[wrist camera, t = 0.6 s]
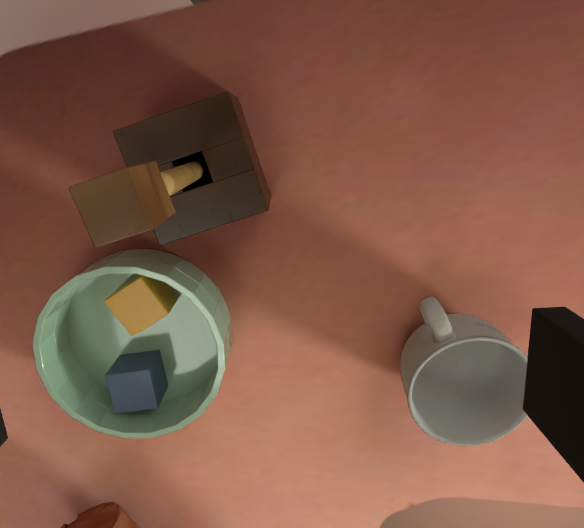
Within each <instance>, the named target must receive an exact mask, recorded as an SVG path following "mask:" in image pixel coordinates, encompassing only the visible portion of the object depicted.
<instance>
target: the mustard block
mask: <svg viewBox="0 0 584 528" xmlns="http://www.w3.org/2000/svg"><path fill="white" fill-rule="evenodd" d="M177 300H178V296H177V295H176V294H175V293H174V291H173V290H172V289H171V287H170V286H169V285H168V284H167V283H165V282H163V281H159V280H156V279H153V278H149V277H146V276H143V275H139V274H137V275H136V276H134V277H133V278H131V279H130V280H128V281H127V282H125V283H124V284H122V285H121V286H119V287H118V288H117V289H116V290H115V291H114V292H113V293H112V294H111V295H110V296H109V297H108V298H106V299H105V300H104V303H105V304H106V305H107V306H108V307H109V309H110V310H111V311H112V312H113V314H114V315H115V316H116V317H117V319H118V320H119V321H120V322H121V323H122V325H123V326H124V327H125V328H126V330H127V331H128V332H129V333H130V335H131V336H132V337H133V336H135V335H137V334H138V333H140V332H141V331H143V330H144V329H146V328H148V327H149V326H151V325H152V324H154V323H156V322H157V321H159V320H160V319H162V318H163V317H165V316H167V315H168V314H169V313H170V311H171V310H172V308H173V306H174V305H175V303H176V302H177Z"/></svg>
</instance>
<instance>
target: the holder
mask: <svg viewBox="0 0 584 528" xmlns="http://www.w3.org/2000/svg"><path fill="white" fill-rule="evenodd" d="M113 134H114V137H115V139H116V142H117V144H118V146H119V149H120V151H121V154H122V156H123V159H124V161H125V163H126V166H127V167H130V166H134V165H138V164H143V163H147V162H151V161H156V163H157V165H158V168H159V171H160V172H163V171H166V170H169V169H172V168H175V167H178V166H181V165H184V164H187V163H190V162H192V161H191V158H190V156H192V155H195V154H198V153H201V152H202V153H203V155H204V158H205V161H206V164H207V166H208V169H209V172H210V175H211V177H212V178H211V179H208V180H205V181H202V182H199V180H197V181H195V182H193V183H191V184H190V185H188V186H186V187H184V188H183V189H181V190H179V191H178V192H176V193H174V194H172V195H171V196H170V198H171V201H172V203H173V206H174V208H175V211H176V212H175V213H174V214H173V215H172V216H170V217H169V218H168V219H166V220H165V221H164V222H162V223H161V224H160V225H158V226H157V227H156V228H154V229H153V231H154V233H155V235H156V238H157V240H158V243H159V245H162V244H166V243H169V242H172V241H175V240H178V239H181V238H184V237H187V236H190V235H193V234H196V233H200V232H203V231H206V230H209V229H212V228H215V227H218V226H221V225H224V224H227V223H230V222H234V221H237V220H240V219H243V218H246V217H249V216H252V215H255V214H258V213H261V212H264V211H267V210H269V205H270V200H271V195H270V192H269V189H268V186H267V183H266V180H265V177H264V174H263V171H262V168H261V165H260V163H259V159H258V156H257V153H256V150H255V147H254V144H253V141H252V138H251V136H250V132H249V129H248V126H247V123H246V120H245V117H244V114H243V111H242V108H241V105H240V102H239V99H238V98H237V97H236V96H234V95H233V94H231V93H230V92H225V93H222V94H219V95H216V96H213V97H210V98H208V99H205V100H202V101H199V102H196V103H193V104H190V105H187V106H184V107H181V108H179V109H176V110H173V111H170V112H167V113H164V114H161V115H158V116H155V117H152V118H150V119H147V120H144V121H141V122H138V123H135V124H132V125H129V126H126V127H124V128H121V129H118V130H115V131H113Z"/></svg>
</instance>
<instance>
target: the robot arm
mask: <svg viewBox="0 0 584 528" xmlns="http://www.w3.org/2000/svg"><path fill="white" fill-rule="evenodd" d="M523 410H524V412H525V413H526V414H527V415H528V416H529V418H530V419H531V420H532V421H533V422H534V424H535V425H536V426H537V427H538V428H539V430H540V431H541V432H542V433H543V434H544V436H545V437H546V438H547V439H548V440H549V441H550V443H551V444H552V445H553V446H554V447H555V449H556V450H557V451H558V452H559V453H560V455H561V456H562V457H563V458H564V459H565V461H566V462H567V463H568V464H569V465H570V467H571V468H572V469H573V470H574V471H575V473H576V474H577V475H578V476H579V477H580V479H581V480H582V481H583V482H584V319H583V318H581V317H580V316H578V315H577V314H575V313H574V312H572V311H571V310H569V309H567V308H566V307H551V308H533V309H532V319H531V329H530V339H529V349H528V359H527V370H526V380H525V390H524V400H523ZM7 438H8V436H7V432H6V428H5V425H4V421H3V417H2V413H1V410H0V446H1V445H2V444H3V443H4V442H5V441H6V440H7Z"/></svg>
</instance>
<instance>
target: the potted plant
mask: <svg viewBox="0 0 584 528" xmlns="http://www.w3.org/2000/svg"><path fill="white" fill-rule="evenodd" d="M61 528H139V527H138V526H137V524H136V523H135V522H134V521H133V520H132V519H131V518H130V517H129V516H128V515H127V513H126V512H125V511H124V510H123V509H122V508H121V507H120V506H119V505H118V504H116V503H114V502H108V503H103V504H100V505H97V506H95V507H92V508H90V509H88V510H86V511H84V512H81V513H79V514H78V518H77V520H75V521H74V522H72V523H71V524H69V525H68V524H64V525H63V526H62V527H61Z"/></svg>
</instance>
